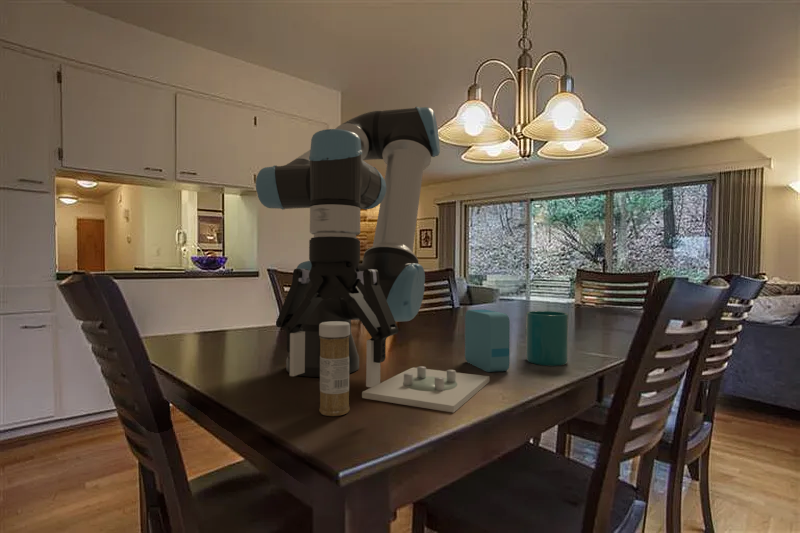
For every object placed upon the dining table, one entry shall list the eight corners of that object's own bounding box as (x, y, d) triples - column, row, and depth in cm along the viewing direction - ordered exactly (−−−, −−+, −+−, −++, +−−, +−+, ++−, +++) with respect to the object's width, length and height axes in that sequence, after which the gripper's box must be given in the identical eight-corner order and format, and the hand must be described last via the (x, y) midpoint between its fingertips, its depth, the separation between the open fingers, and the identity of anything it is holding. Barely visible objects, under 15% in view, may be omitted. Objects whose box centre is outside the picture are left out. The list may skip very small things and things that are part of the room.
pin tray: (362, 397, 75) (362, 379, 75) (412, 372, 92) (412, 357, 92) (453, 412, 67) (454, 392, 67) (489, 381, 85) (489, 365, 85)
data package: (509, 372, 93) (510, 314, 93) (490, 374, 92) (490, 315, 91) (482, 360, 104) (482, 308, 104) (464, 361, 103) (464, 309, 103)
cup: (542, 354, 111) (542, 309, 111) (576, 365, 100) (577, 314, 100) (511, 357, 108) (511, 310, 108) (542, 368, 97) (543, 315, 97)
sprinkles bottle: (345, 406, 70) (346, 320, 70) (352, 415, 66) (353, 323, 66) (316, 409, 69) (316, 321, 69) (321, 419, 64) (322, 325, 64)
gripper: (253, 237, 69) (252, 375, 69) (398, 232, 58) (397, 396, 58) (286, 240, 76) (284, 366, 76) (421, 236, 65) (420, 383, 65)
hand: (333, 379), depth 67 cm, fingers open, 13 cm apart
